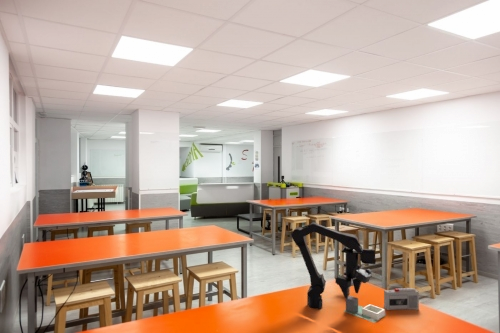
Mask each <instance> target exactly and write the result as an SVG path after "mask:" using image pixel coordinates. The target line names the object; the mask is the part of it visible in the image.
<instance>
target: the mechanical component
mask: <svg viewBox="0 0 500 333" xmlns="http://www.w3.org/2000/svg"><path fill="white" fill-rule="evenodd" d="M339 276H344V277H346V276H345V275H344V274H338V277H339ZM351 281H352V283H351V285H352V286H351V287H354V284H353V280H351ZM348 296H350V291H349V292H348Z"/></svg>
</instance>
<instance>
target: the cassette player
mask: <svg viewBox="0 0 500 333" xmlns="http://www.w3.org/2000/svg"><path fill="white" fill-rule="evenodd" d="M419 297H420V292H419V291H418V290H417V289H416V288H414V287H406V288H394V289H389V290H388V289H386V290H385V289H384V290H383V307H384V308H383V309H385V310H387V311H389V310H391V311H393V310H394V311H395V310H416V311H419V310H420V302H419V301H420V298H419Z"/></svg>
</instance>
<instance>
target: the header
mask: <svg viewBox="0 0 500 333" xmlns="http://www.w3.org/2000/svg"><path fill="white" fill-rule="evenodd" d="M363 307H364V308H362V314H363V315H366V316H368V317H371V318H375V319H377V320H378V319H380V318H381V317H383V316H384V315H386V309H385V308H382V307H379V306H376V305H373V304H370V303H369V304H368V305H365V306H363ZM384 317H385V316H384ZM384 317H383V318H384ZM381 319H382V318H381ZM381 319H380V320H381ZM378 321H379V320H378Z"/></svg>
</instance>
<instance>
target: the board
mask: <svg viewBox="0 0 500 333" xmlns="http://www.w3.org/2000/svg"><path fill="white" fill-rule="evenodd" d="M364 307H365V306H361V305H359V304H358V312H356V313H354V314H353V313H350V312H347V311H346V309H345V310H343V312H344V313H347V314H350V315H353V316H355V317H357V318H361V319H363V320H366V321H367V322H368V321H369V322H371V323H375V324H376V322H378V321H379V320H381V319H382V318H385V316H386V317H387V315H386V314H385V315H384V316H383V317H381V318H380V319H378V320H377V319H375V318H371V317H368V316H366V315H363V314H362V308H364Z"/></svg>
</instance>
